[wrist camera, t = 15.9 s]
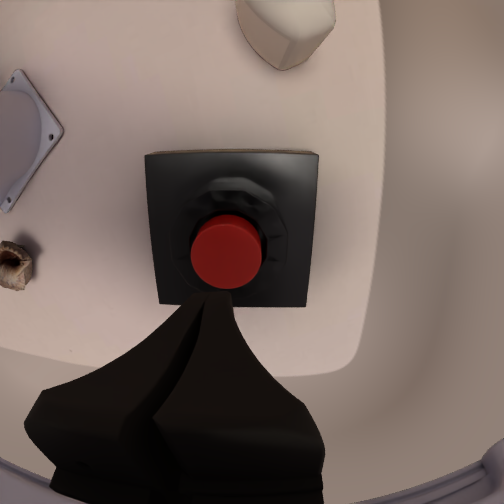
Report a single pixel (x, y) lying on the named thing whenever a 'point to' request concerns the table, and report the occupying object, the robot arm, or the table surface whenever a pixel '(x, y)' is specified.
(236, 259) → the button
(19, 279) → the seashell
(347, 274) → the table surface
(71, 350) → the table surface
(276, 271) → the box
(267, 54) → the eye dropper bottle
